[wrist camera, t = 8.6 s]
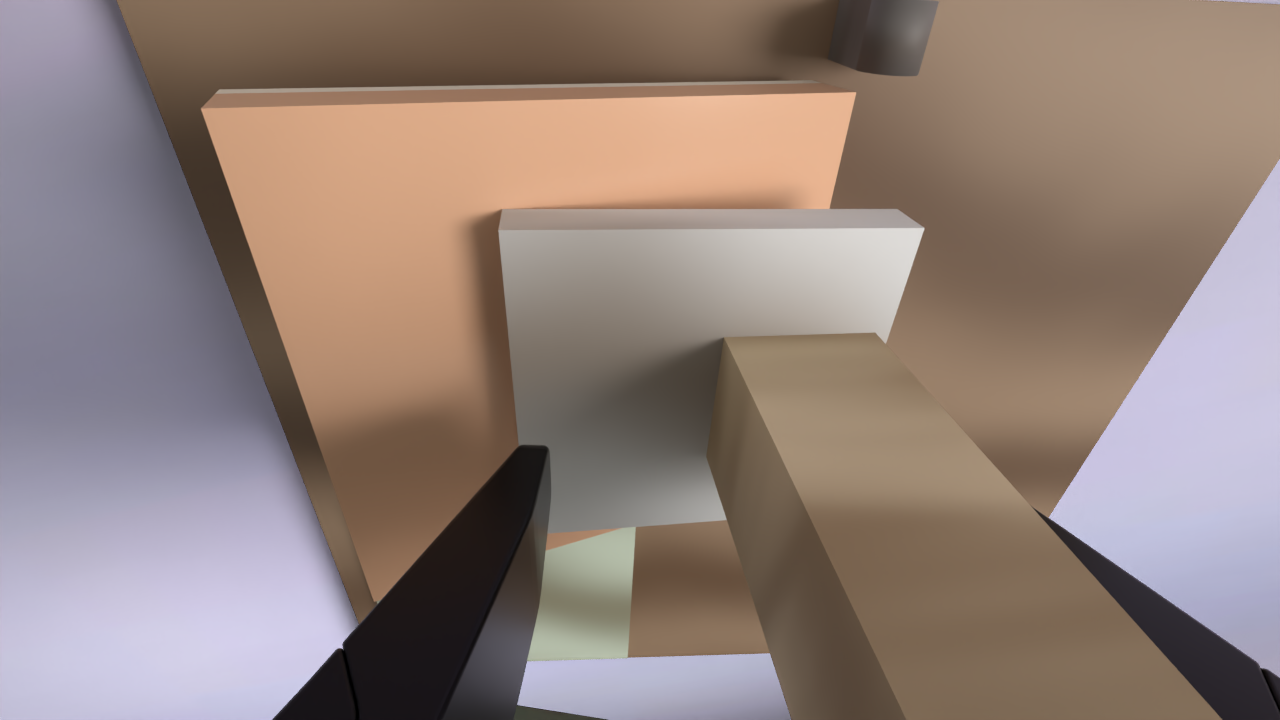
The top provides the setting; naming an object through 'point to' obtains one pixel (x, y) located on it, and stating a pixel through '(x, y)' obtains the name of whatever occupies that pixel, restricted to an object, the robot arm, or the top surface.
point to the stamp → (808, 462)
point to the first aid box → (546, 715)
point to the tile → (467, 250)
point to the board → (867, 179)
